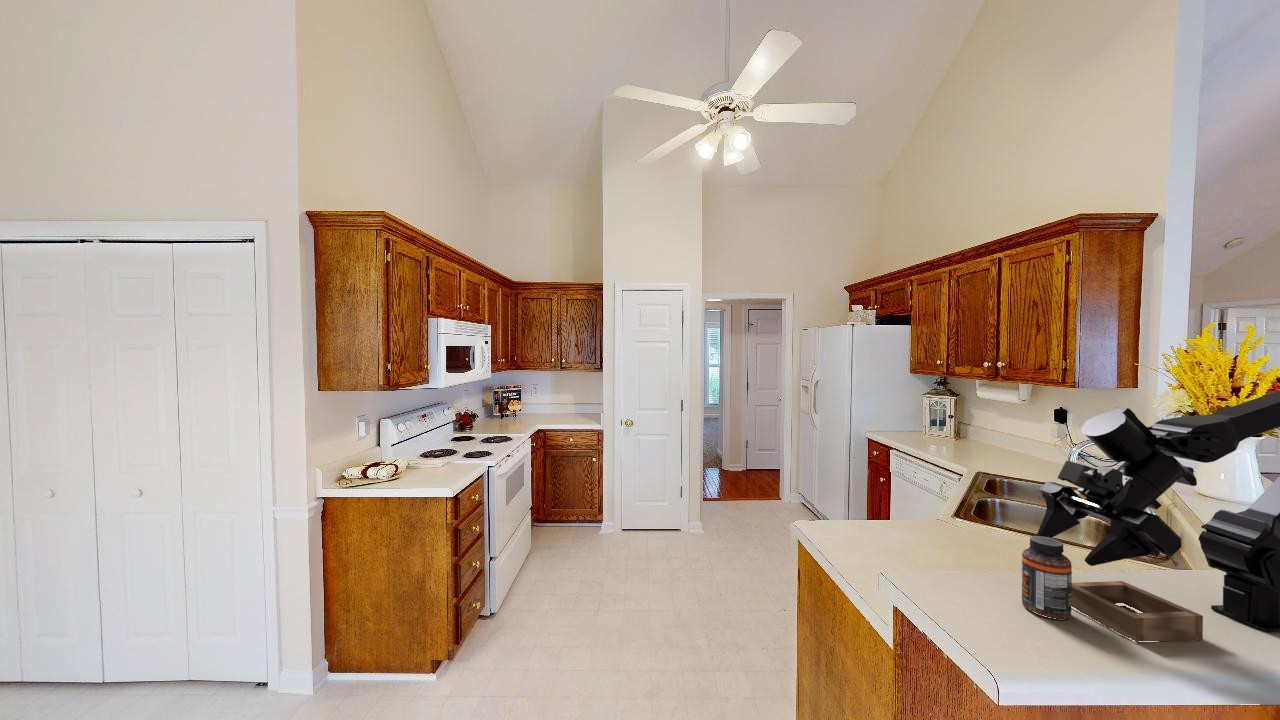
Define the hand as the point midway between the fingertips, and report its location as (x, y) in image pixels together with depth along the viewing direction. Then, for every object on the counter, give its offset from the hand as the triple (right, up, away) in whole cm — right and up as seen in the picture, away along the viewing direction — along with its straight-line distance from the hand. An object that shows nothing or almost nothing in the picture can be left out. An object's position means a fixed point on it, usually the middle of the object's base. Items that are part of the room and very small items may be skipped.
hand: (1061, 550), depth 74 cm
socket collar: (+8, -10, -3) cm, 13 cm away
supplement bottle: (-2, -10, 0) cm, 10 cm away
